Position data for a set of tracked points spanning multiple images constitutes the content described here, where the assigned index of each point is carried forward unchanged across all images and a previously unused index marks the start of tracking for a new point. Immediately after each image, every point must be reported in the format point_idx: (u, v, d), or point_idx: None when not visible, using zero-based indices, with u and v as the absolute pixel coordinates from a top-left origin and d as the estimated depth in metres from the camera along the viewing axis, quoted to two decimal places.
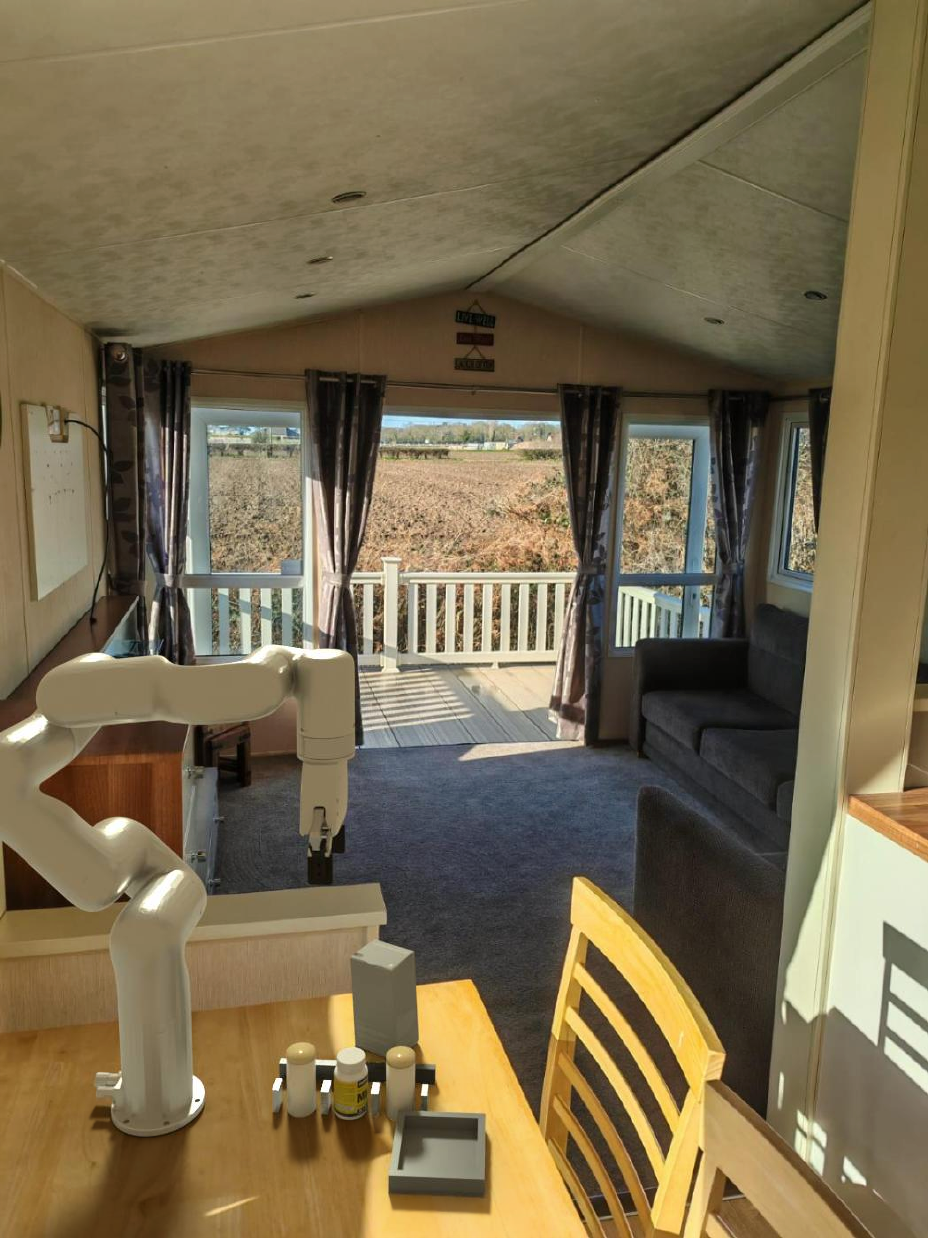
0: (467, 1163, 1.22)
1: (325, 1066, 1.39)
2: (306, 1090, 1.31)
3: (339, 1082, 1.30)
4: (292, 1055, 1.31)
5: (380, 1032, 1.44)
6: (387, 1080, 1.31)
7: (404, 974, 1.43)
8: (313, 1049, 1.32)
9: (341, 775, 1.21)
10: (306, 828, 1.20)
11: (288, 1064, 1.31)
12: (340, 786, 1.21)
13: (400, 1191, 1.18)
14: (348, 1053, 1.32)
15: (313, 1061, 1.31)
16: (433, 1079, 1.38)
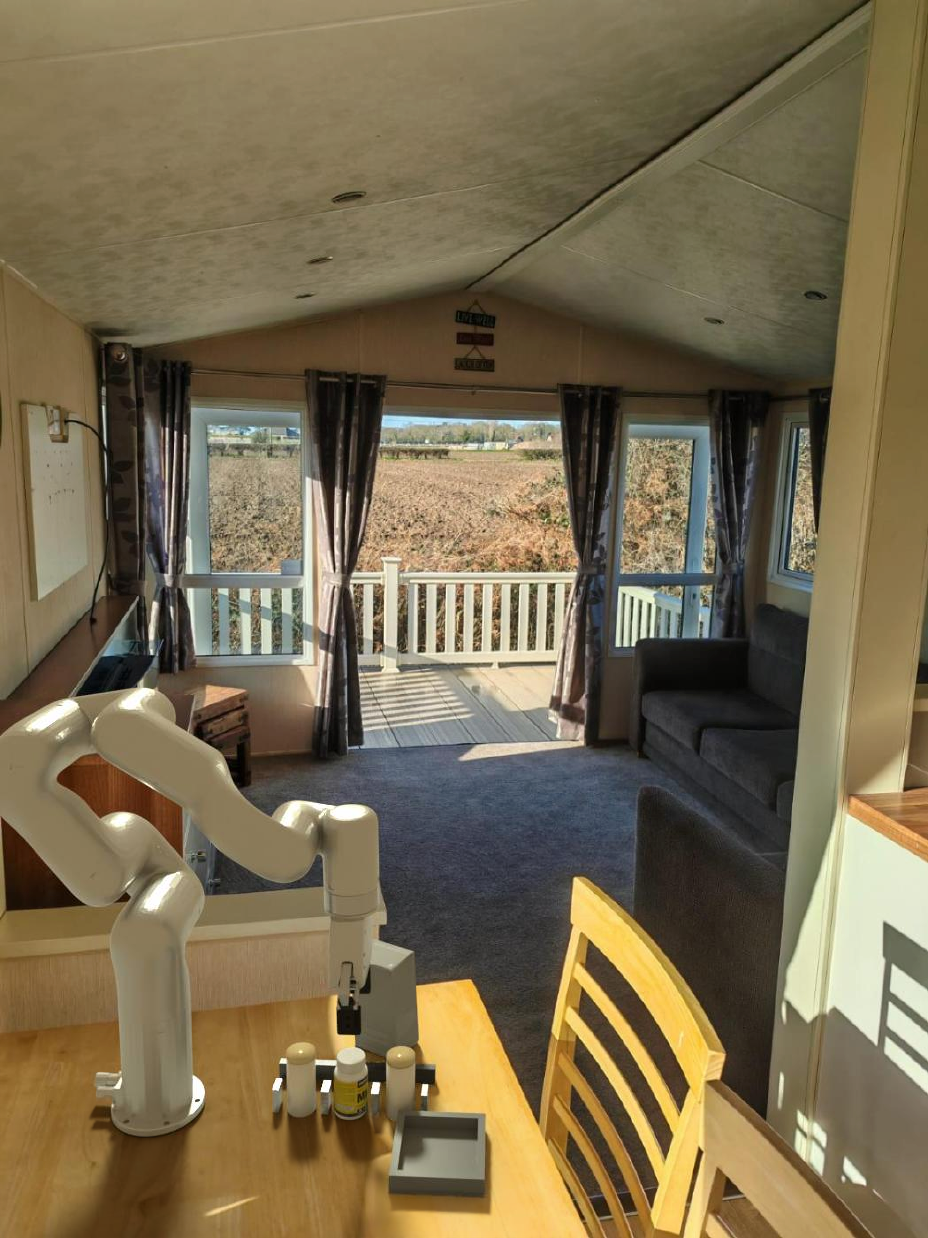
0: (467, 1163, 1.22)
1: (325, 1066, 1.39)
2: (306, 1090, 1.31)
3: (339, 1082, 1.30)
4: (292, 1055, 1.31)
5: (380, 1032, 1.44)
6: (387, 1080, 1.31)
7: (404, 974, 1.43)
8: (313, 1049, 1.32)
9: (367, 928, 1.26)
10: (335, 982, 1.24)
11: (288, 1064, 1.31)
12: (366, 939, 1.26)
13: (400, 1191, 1.18)
14: (348, 1053, 1.32)
15: (313, 1061, 1.31)
16: (433, 1079, 1.38)
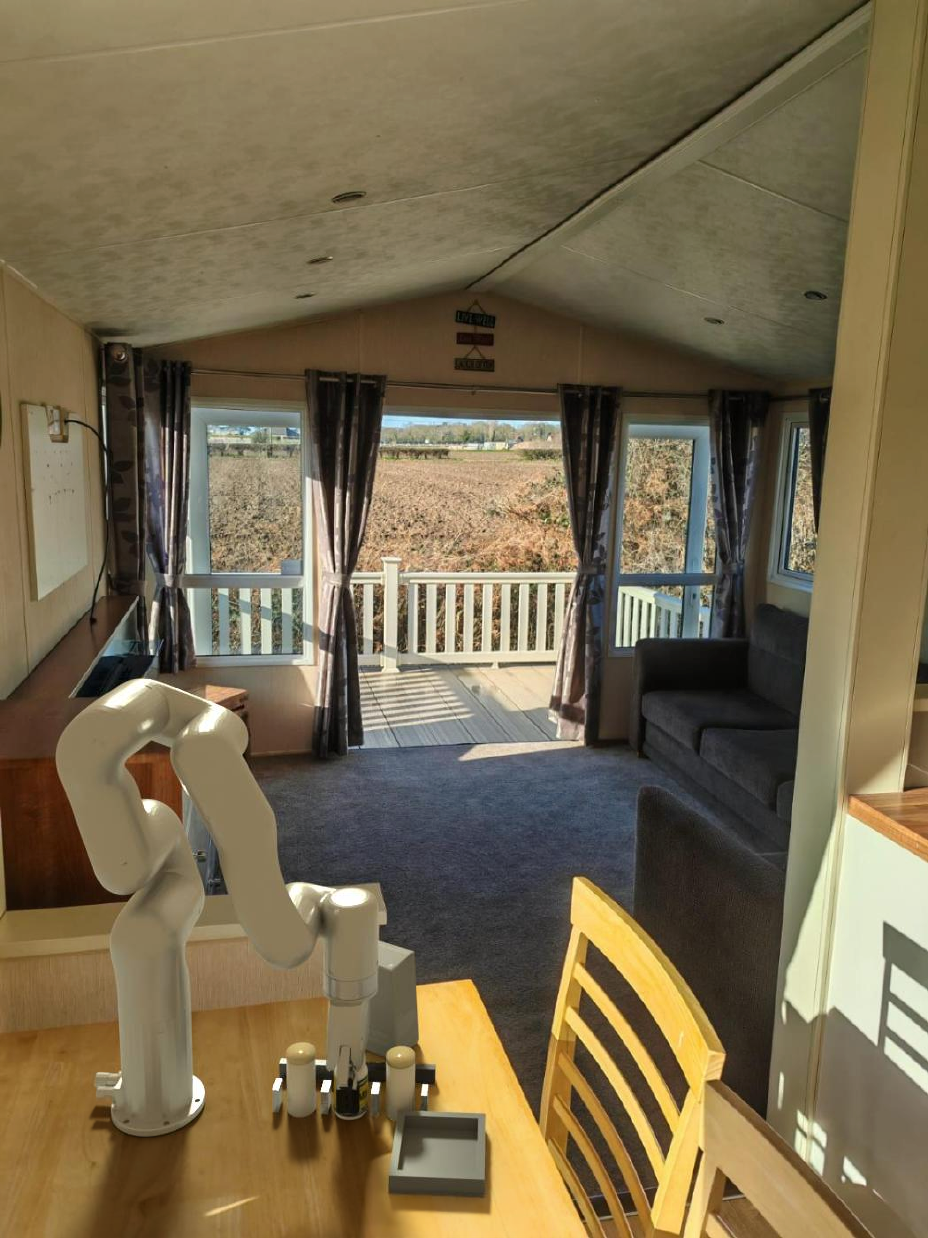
0: (467, 1163, 1.22)
1: (325, 1066, 1.39)
2: (306, 1090, 1.31)
3: None
4: (292, 1055, 1.31)
5: (380, 1032, 1.44)
6: (387, 1080, 1.31)
7: (404, 974, 1.43)
8: (313, 1049, 1.32)
9: (365, 1012, 1.28)
10: (332, 1065, 1.26)
11: (288, 1064, 1.31)
12: (364, 1023, 1.28)
13: (400, 1191, 1.18)
14: None
15: (313, 1061, 1.31)
16: (433, 1079, 1.38)
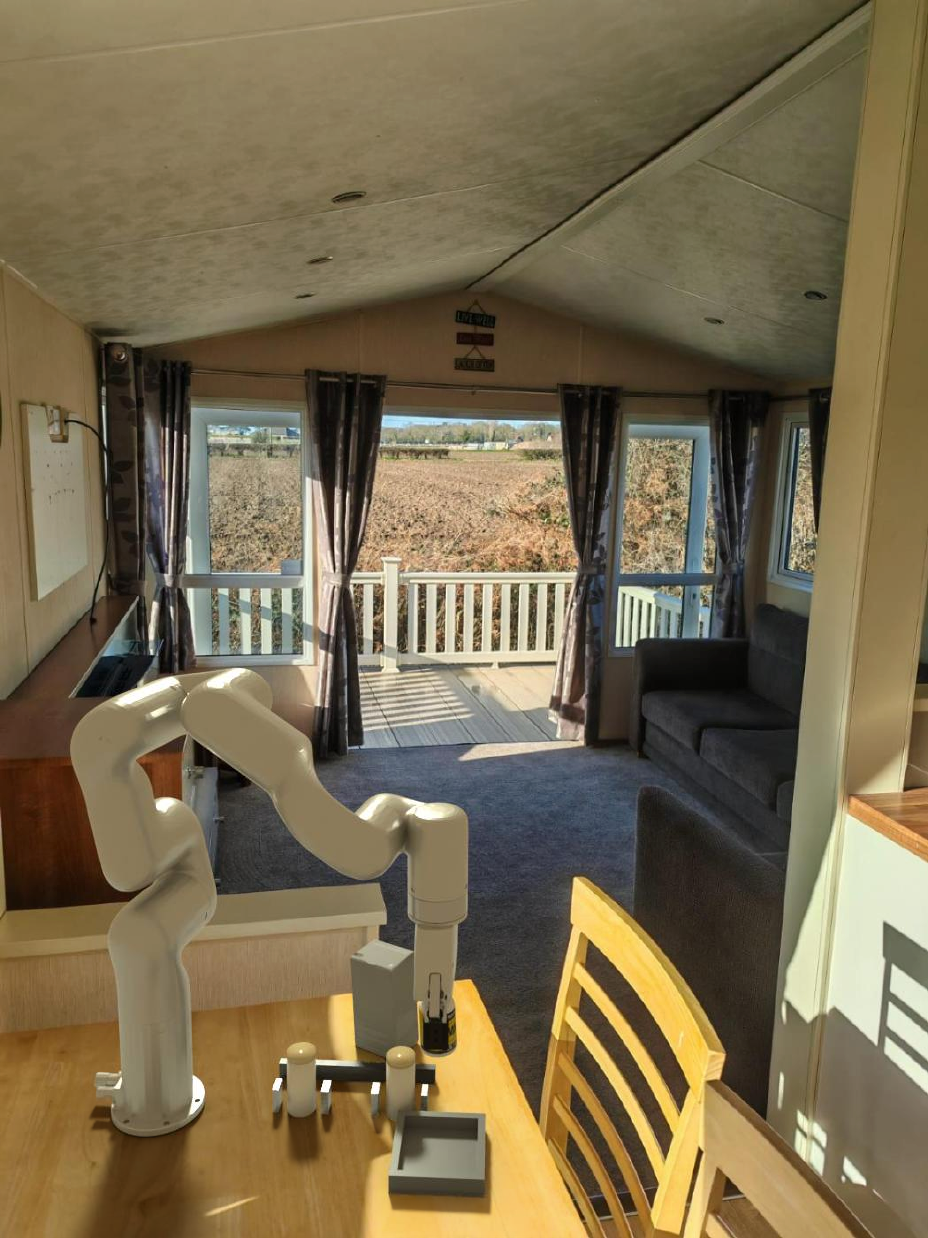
0: (467, 1163, 1.22)
1: (325, 1066, 1.39)
2: (306, 1090, 1.31)
3: None
4: (293, 1055, 1.31)
5: (380, 1032, 1.44)
6: (387, 1080, 1.31)
7: (404, 974, 1.43)
8: (313, 1049, 1.32)
9: (455, 937, 1.17)
10: (421, 995, 1.15)
11: (288, 1064, 1.31)
12: (455, 949, 1.16)
13: (400, 1191, 1.18)
14: None
15: (313, 1061, 1.31)
16: (433, 1079, 1.38)
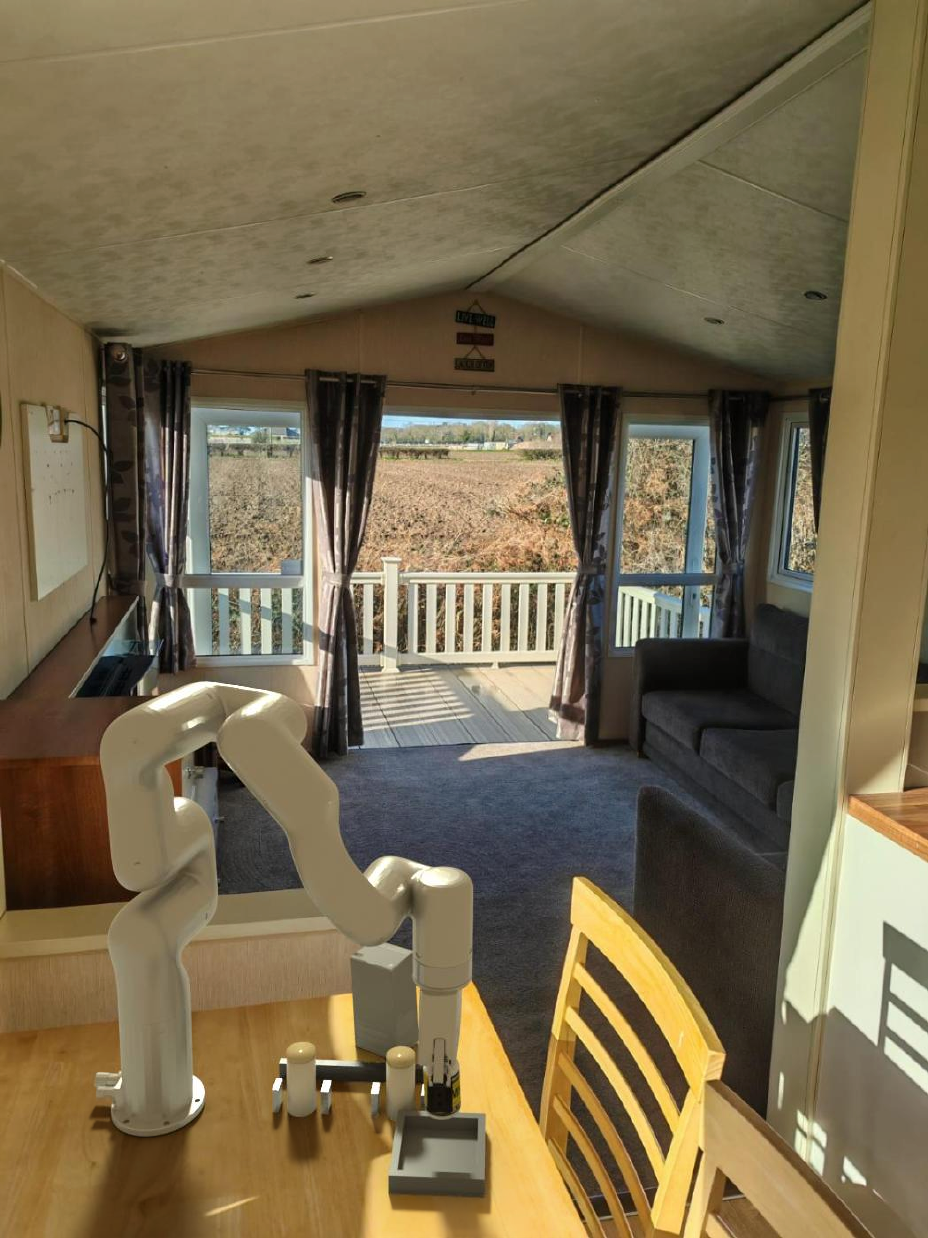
0: (467, 1163, 1.22)
1: (325, 1066, 1.39)
2: (306, 1089, 1.31)
3: None
4: (292, 1054, 1.31)
5: (380, 1032, 1.44)
6: (387, 1080, 1.31)
7: (404, 974, 1.43)
8: (313, 1048, 1.32)
9: (460, 1002, 1.17)
10: (425, 1060, 1.16)
11: (288, 1063, 1.31)
12: (459, 1014, 1.17)
13: (400, 1191, 1.18)
14: None
15: (313, 1060, 1.31)
16: None
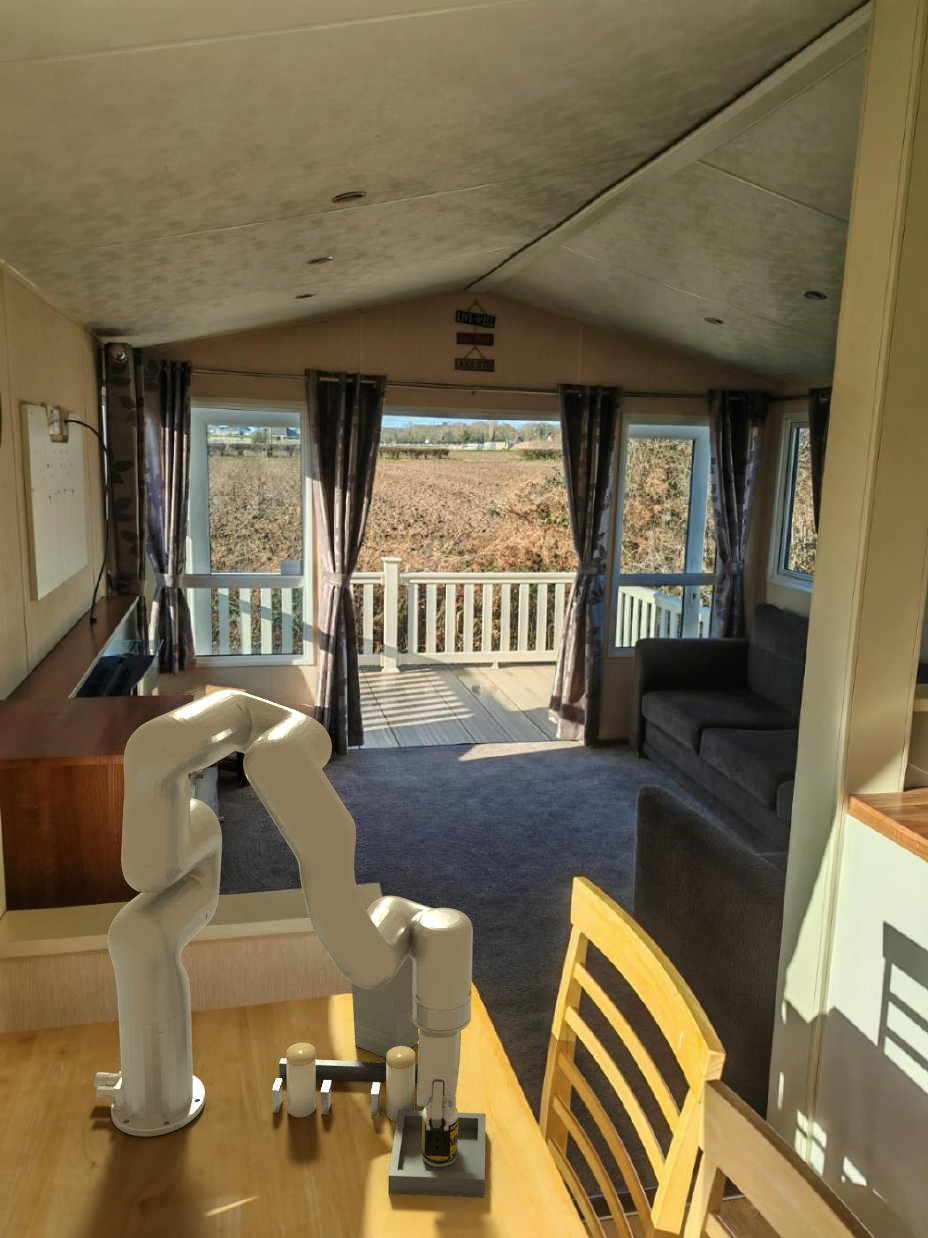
0: (467, 1163, 1.22)
1: (325, 1066, 1.39)
2: (306, 1090, 1.31)
3: None
4: (292, 1056, 1.31)
5: (380, 1032, 1.44)
6: (387, 1080, 1.31)
7: (404, 974, 1.43)
8: (313, 1049, 1.32)
9: (459, 1043, 1.18)
10: (424, 1101, 1.17)
11: (288, 1065, 1.30)
12: (458, 1055, 1.18)
13: (400, 1191, 1.18)
14: None
15: (313, 1061, 1.31)
16: None
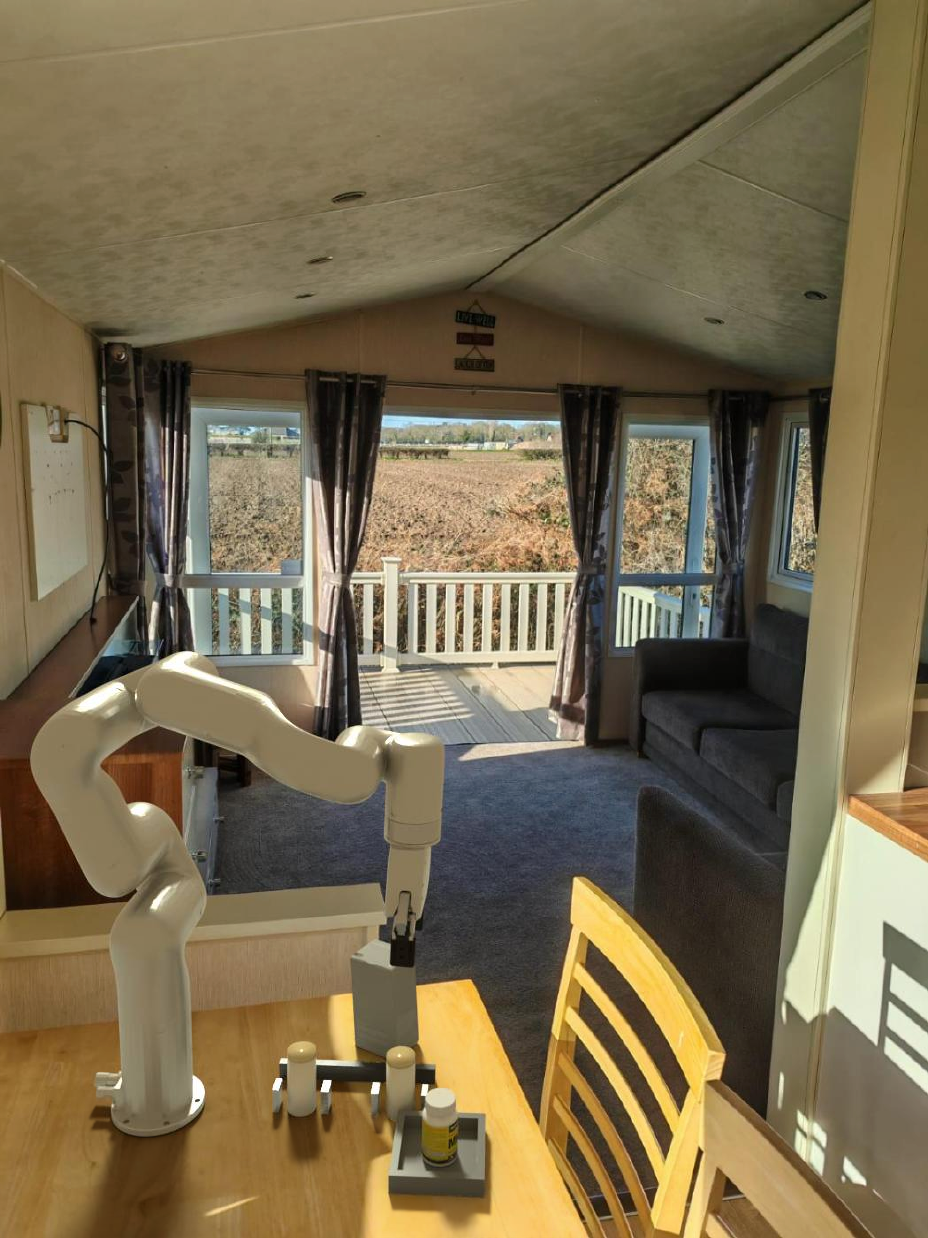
0: (467, 1163, 1.22)
1: (325, 1066, 1.39)
2: (307, 1088, 1.31)
3: (428, 1127, 1.21)
4: (293, 1054, 1.31)
5: (380, 1032, 1.44)
6: (387, 1080, 1.31)
7: (404, 974, 1.43)
8: (314, 1047, 1.33)
9: (427, 859, 1.23)
10: (391, 911, 1.21)
11: (289, 1063, 1.31)
12: (426, 870, 1.23)
13: (400, 1191, 1.18)
14: (437, 1095, 1.23)
15: (314, 1059, 1.32)
16: (433, 1079, 1.38)
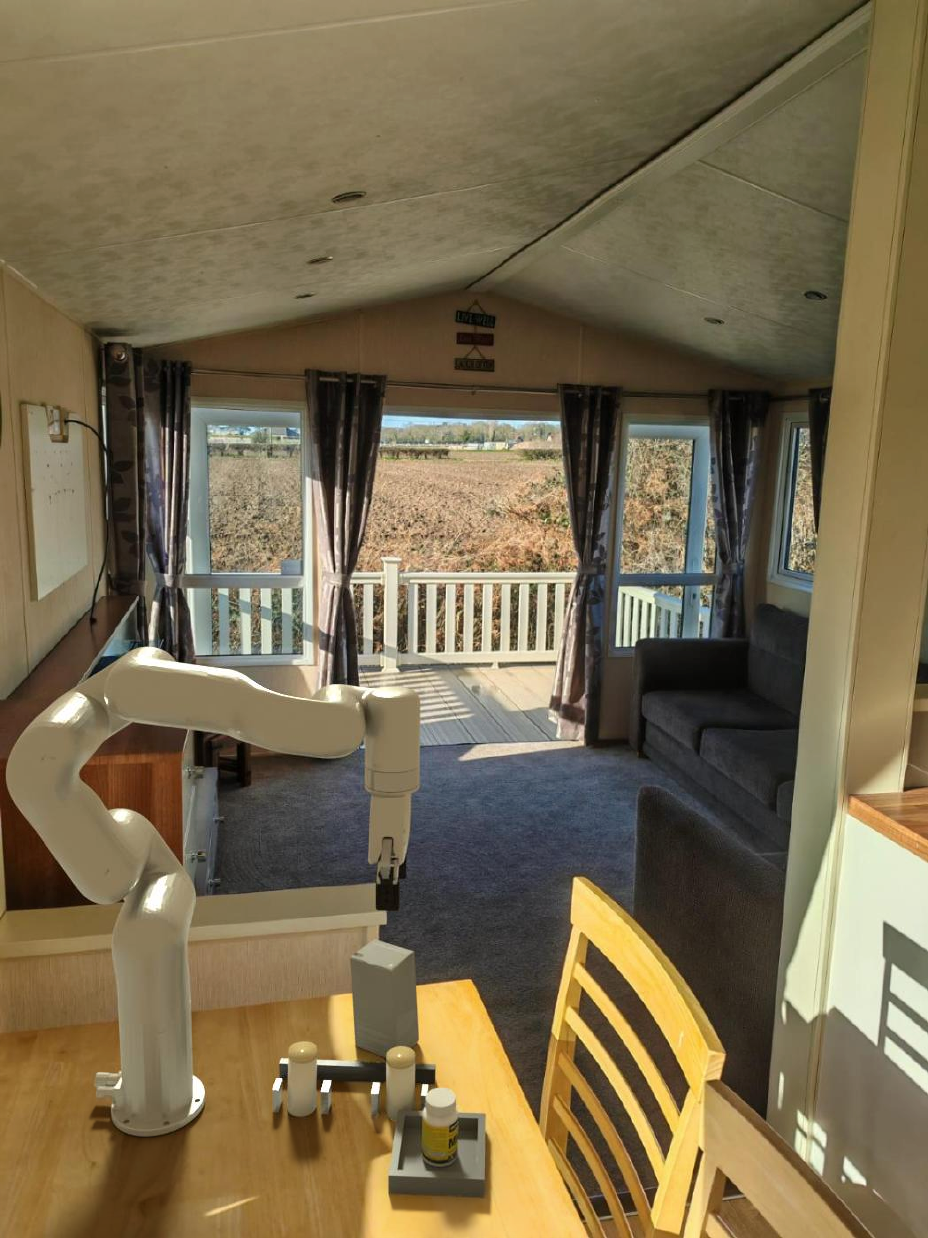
0: (467, 1163, 1.22)
1: (325, 1066, 1.39)
2: (308, 1088, 1.31)
3: (429, 1127, 1.21)
4: (295, 1054, 1.31)
5: (380, 1032, 1.44)
6: (387, 1080, 1.31)
7: (404, 974, 1.43)
8: (315, 1047, 1.33)
9: (407, 807, 1.28)
10: (375, 857, 1.27)
11: (291, 1063, 1.31)
12: (406, 817, 1.28)
13: (400, 1191, 1.18)
14: (437, 1094, 1.23)
15: (316, 1059, 1.32)
16: (433, 1079, 1.38)
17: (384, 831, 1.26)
